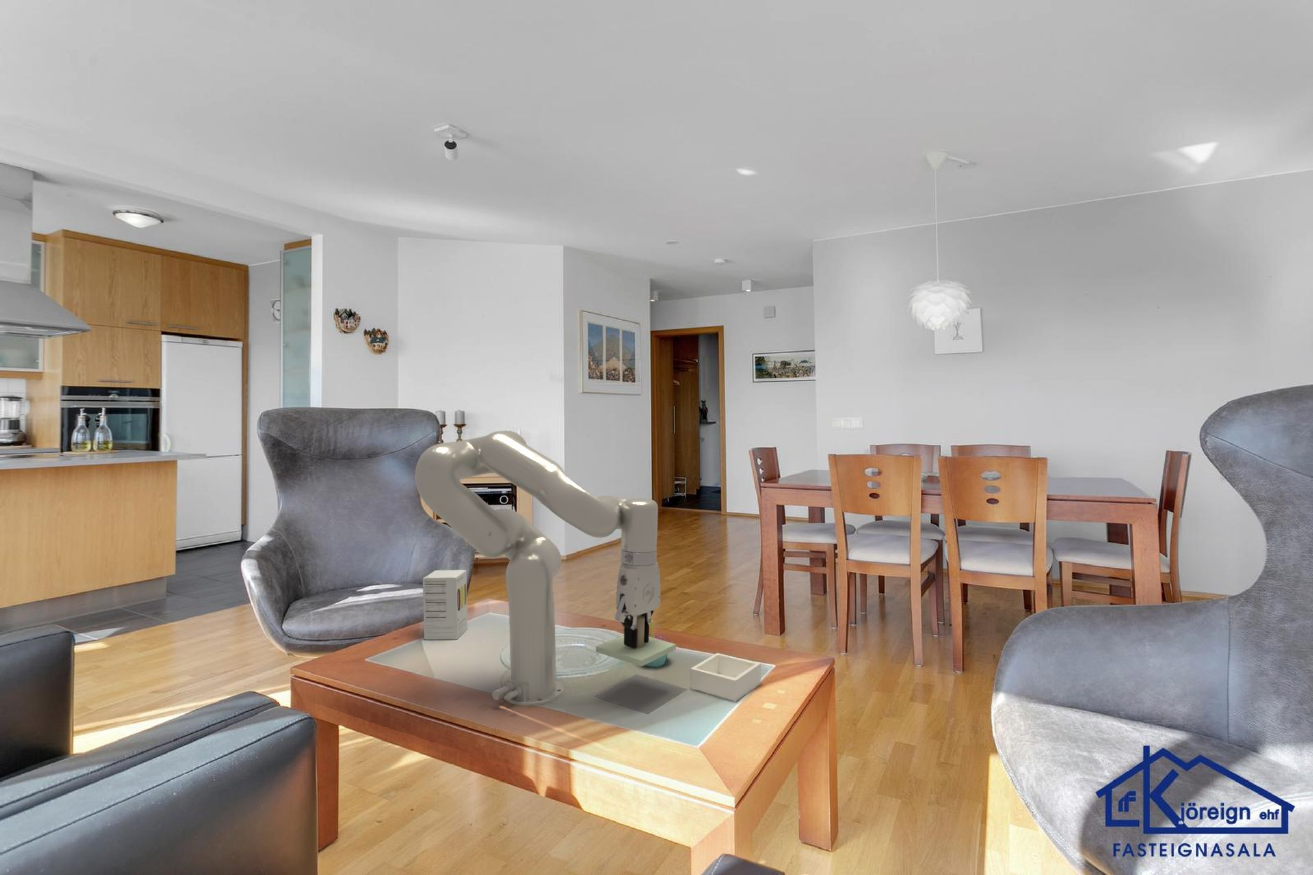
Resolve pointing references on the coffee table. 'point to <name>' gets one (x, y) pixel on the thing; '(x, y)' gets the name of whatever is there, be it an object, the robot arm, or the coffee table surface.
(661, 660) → the cupcake
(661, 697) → the mat
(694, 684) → the white square box
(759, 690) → the coffee table surface
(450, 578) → the supplement box
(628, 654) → the lid
